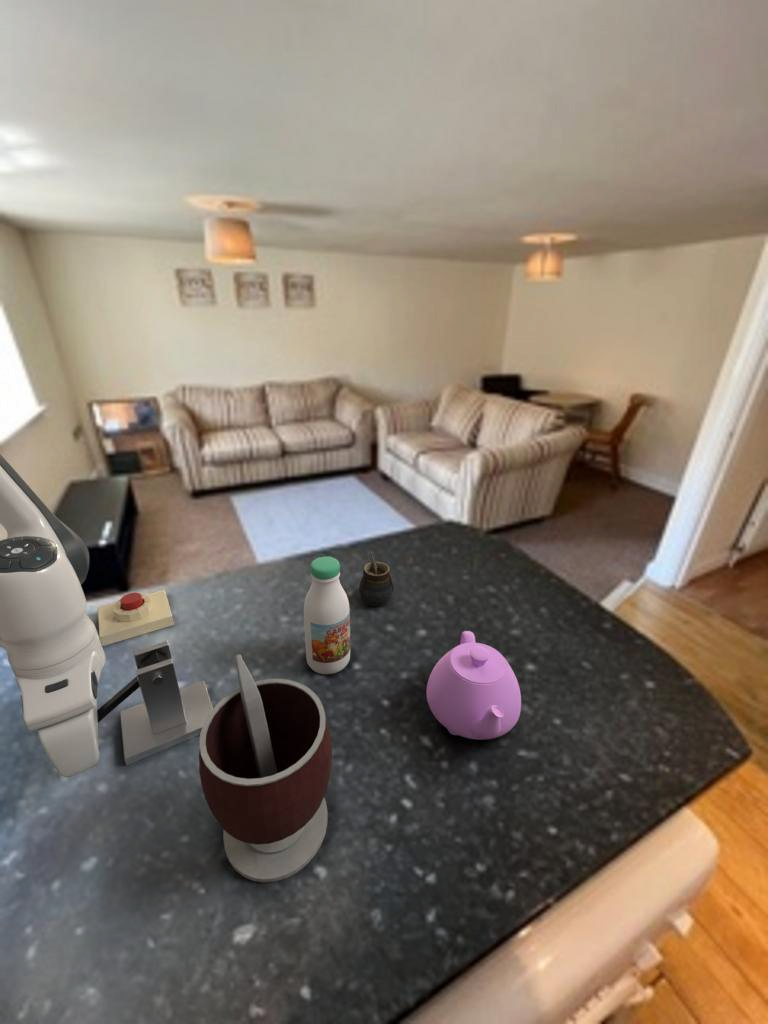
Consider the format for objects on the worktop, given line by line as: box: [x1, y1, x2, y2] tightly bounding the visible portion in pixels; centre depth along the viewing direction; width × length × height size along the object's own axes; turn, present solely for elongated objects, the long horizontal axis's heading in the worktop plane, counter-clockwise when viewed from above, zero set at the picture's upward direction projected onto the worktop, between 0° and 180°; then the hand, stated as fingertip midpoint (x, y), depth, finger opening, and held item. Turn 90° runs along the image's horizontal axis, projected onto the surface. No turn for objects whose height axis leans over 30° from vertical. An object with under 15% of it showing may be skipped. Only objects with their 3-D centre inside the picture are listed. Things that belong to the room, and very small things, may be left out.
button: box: [119, 591, 143, 611], centre depth 85 cm, size 4×4×2 cm
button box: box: [97, 589, 175, 647], centre depth 86 cm, size 12×10×4 cm
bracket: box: [119, 640, 214, 766], centre depth 64 cm, size 12×9×13 cm
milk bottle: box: [303, 556, 351, 675], centre depth 75 cm, size 8×8×20 cm
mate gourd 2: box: [358, 550, 395, 607], centre depth 93 cm, size 7×8×10 cm
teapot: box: [426, 630, 522, 741], centre depth 66 cm, size 20×14×12 cm
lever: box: [97, 651, 168, 723], centre depth 61 cm, size 13×5×2 cm
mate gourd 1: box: [198, 654, 333, 883], centre depth 51 cm, size 16×14×20 cm
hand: (92, 738), depth 61 cm, fingers closed on lever, 5 cm apart
